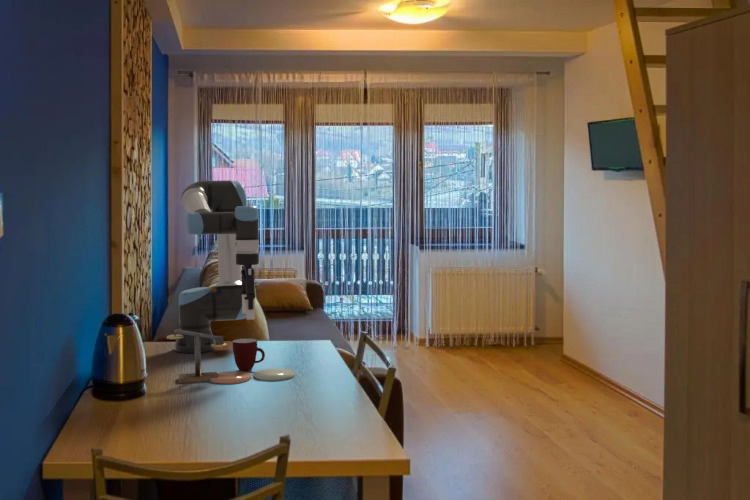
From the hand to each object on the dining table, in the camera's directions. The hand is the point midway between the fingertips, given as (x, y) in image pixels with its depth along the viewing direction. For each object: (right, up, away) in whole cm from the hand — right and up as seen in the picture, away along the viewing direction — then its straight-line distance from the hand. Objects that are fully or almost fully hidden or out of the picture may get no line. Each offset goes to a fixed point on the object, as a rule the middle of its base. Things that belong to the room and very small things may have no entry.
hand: (248, 316), depth 251 cm
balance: (-14, -19, -12) cm, 26 cm away
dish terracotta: (-4, -19, -11) cm, 22 cm away
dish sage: (+10, -19, -7) cm, 22 cm away
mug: (0, -18, +1) cm, 18 cm away
